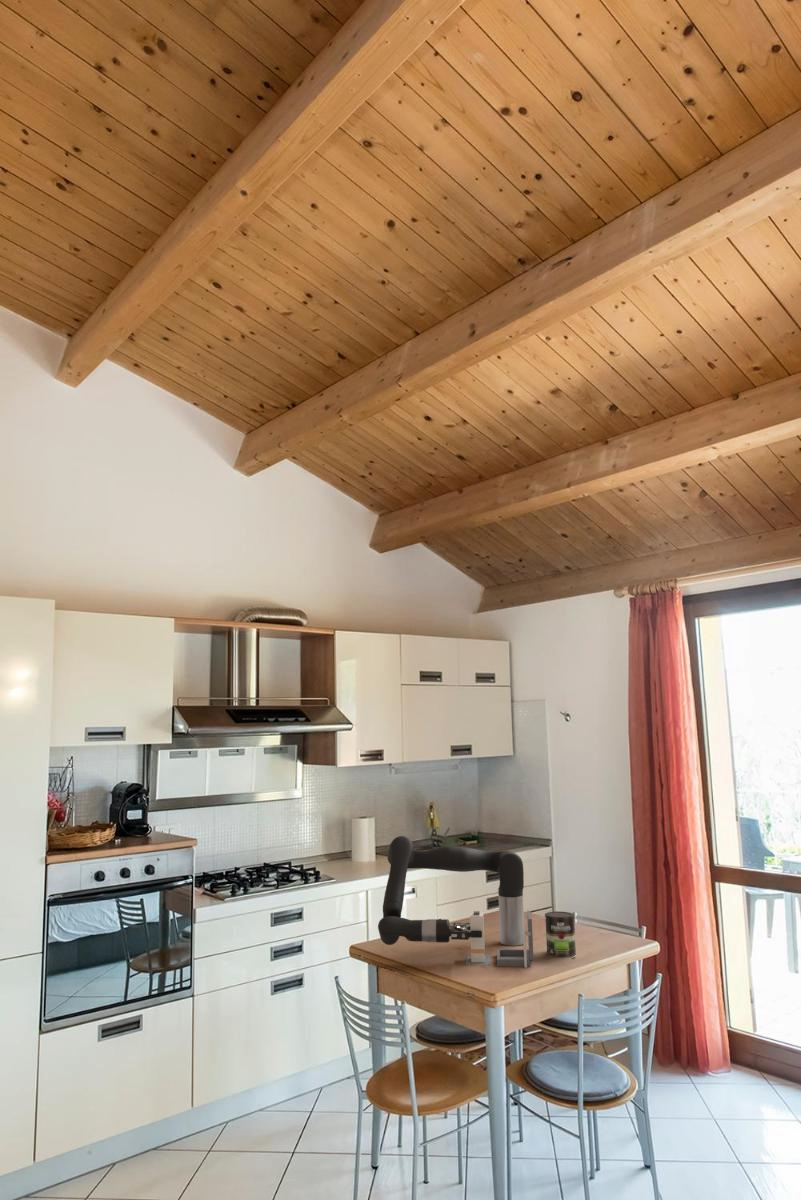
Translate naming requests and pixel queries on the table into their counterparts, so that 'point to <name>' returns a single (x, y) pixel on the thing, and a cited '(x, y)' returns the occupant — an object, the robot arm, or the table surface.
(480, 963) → the mat
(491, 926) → the table surface
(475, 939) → the white bottle
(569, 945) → the coffee can
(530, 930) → the grey dispenser stand
